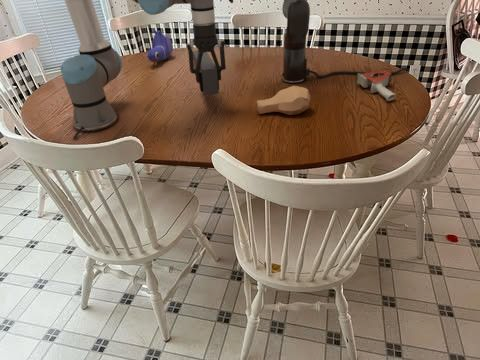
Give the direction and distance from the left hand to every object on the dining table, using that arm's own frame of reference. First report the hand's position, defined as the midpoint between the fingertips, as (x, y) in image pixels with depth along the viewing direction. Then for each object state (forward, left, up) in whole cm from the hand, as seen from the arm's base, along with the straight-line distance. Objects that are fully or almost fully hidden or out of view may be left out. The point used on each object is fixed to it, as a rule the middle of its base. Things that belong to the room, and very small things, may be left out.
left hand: (209, 89), depth 132 cm
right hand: (+21, -13, +26) cm, 36 cm away
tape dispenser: (+11, -66, -8) cm, 67 cm away
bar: (+8, +2, 0) cm, 8 cm away
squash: (-5, -27, -8) cm, 29 cm away
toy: (+62, +32, -8) cm, 71 cm away
